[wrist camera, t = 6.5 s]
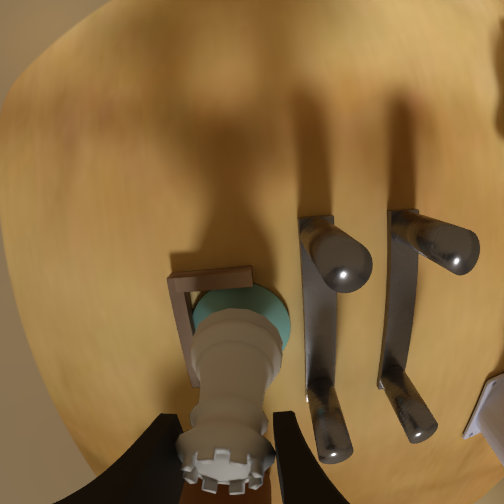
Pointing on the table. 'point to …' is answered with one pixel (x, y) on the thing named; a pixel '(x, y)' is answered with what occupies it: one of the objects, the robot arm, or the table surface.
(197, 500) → the mug
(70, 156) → the table surface
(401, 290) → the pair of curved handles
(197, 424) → the rook chess piece
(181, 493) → the robot arm
